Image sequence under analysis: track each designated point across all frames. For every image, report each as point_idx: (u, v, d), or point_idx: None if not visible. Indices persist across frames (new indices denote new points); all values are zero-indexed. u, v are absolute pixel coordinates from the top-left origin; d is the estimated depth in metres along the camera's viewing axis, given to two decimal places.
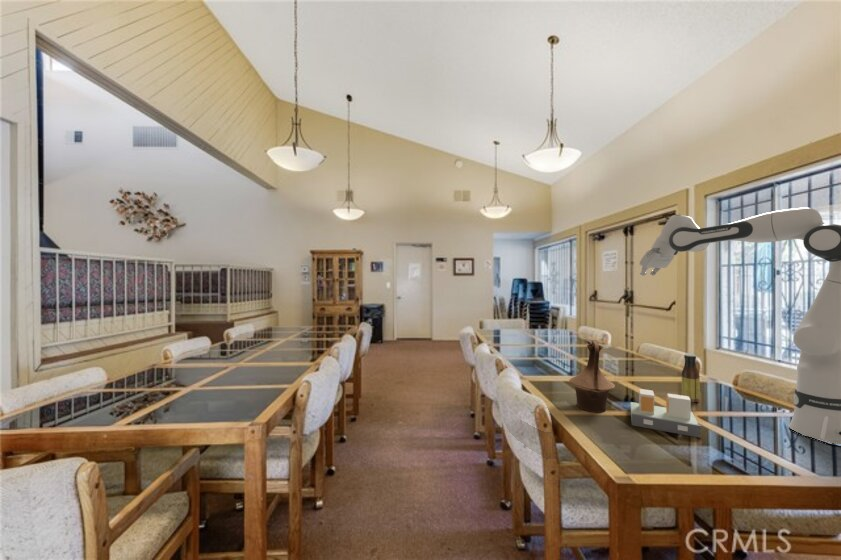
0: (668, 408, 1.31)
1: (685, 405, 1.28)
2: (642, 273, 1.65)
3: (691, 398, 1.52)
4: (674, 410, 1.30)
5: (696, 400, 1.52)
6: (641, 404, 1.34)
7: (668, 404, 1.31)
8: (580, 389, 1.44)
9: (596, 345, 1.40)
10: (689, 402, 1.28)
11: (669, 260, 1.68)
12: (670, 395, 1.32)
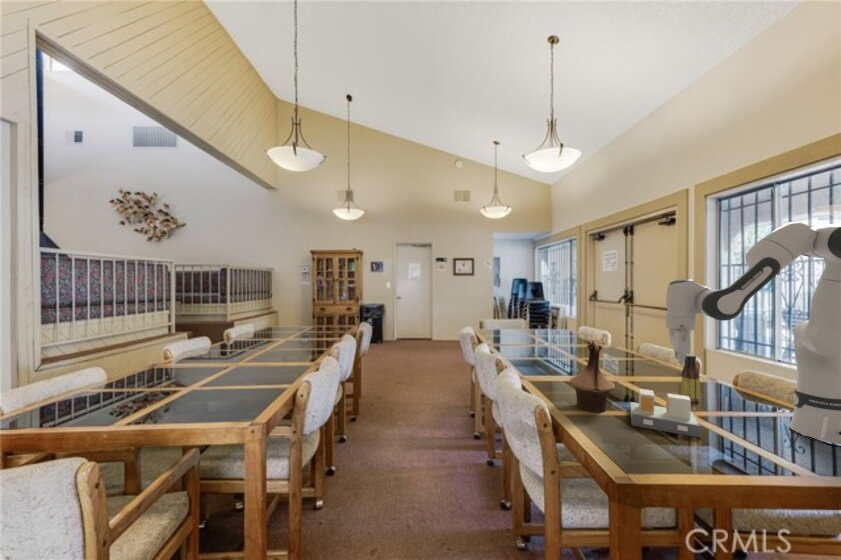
0: (668, 408, 1.31)
1: (685, 405, 1.28)
2: (681, 362, 1.26)
3: (691, 398, 1.52)
4: (674, 410, 1.30)
5: (696, 400, 1.52)
6: (641, 404, 1.34)
7: (668, 404, 1.31)
8: (580, 389, 1.44)
9: (596, 345, 1.40)
10: (689, 402, 1.28)
11: None
12: (670, 395, 1.32)
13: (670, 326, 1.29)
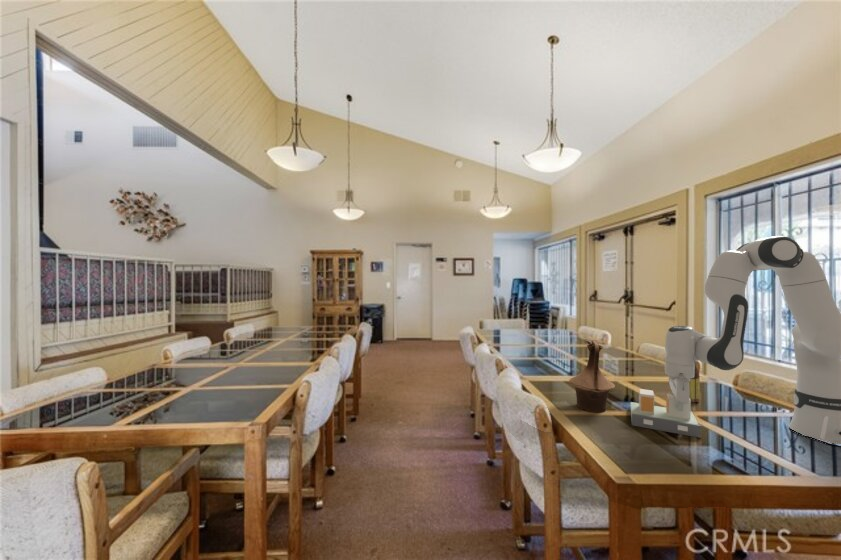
0: (668, 408, 1.31)
1: (685, 405, 1.28)
2: (680, 408, 1.28)
3: (691, 398, 1.52)
4: (674, 410, 1.30)
5: (696, 400, 1.52)
6: (641, 404, 1.34)
7: (668, 404, 1.31)
8: (580, 389, 1.44)
9: (596, 345, 1.40)
10: (689, 402, 1.28)
11: None
12: (670, 395, 1.32)
13: (669, 373, 1.30)
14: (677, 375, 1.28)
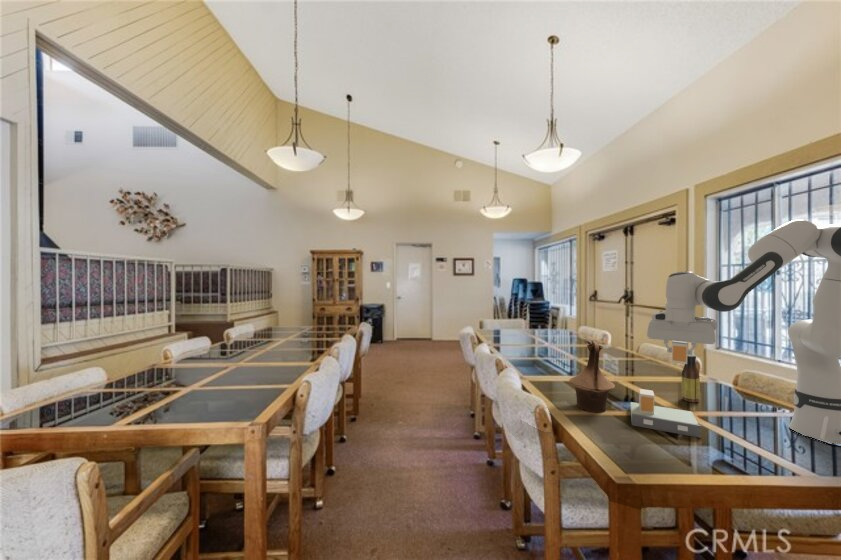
0: (686, 356, 1.27)
1: None
2: None
3: (691, 398, 1.52)
4: None
5: (696, 400, 1.52)
6: (641, 404, 1.34)
7: (686, 352, 1.27)
8: (580, 389, 1.44)
9: (596, 345, 1.40)
10: None
11: None
12: (679, 343, 1.29)
13: (690, 319, 1.26)
14: (694, 319, 1.27)
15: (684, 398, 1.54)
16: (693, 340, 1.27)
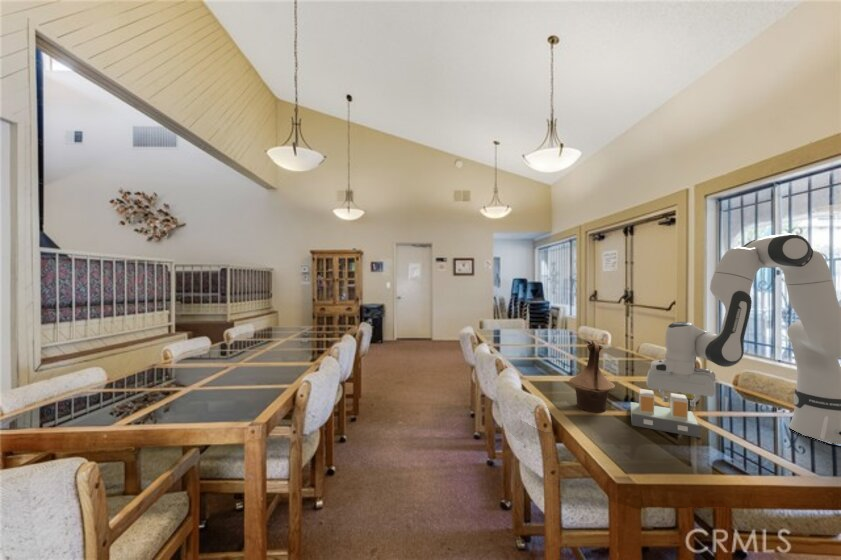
0: (687, 412, 1.27)
1: None
2: None
3: (691, 398, 1.52)
4: None
5: None
6: (641, 404, 1.34)
7: (686, 408, 1.27)
8: (580, 389, 1.44)
9: (596, 345, 1.40)
10: None
11: None
12: (680, 398, 1.29)
13: (691, 372, 1.27)
14: None
15: None
16: (693, 392, 1.27)
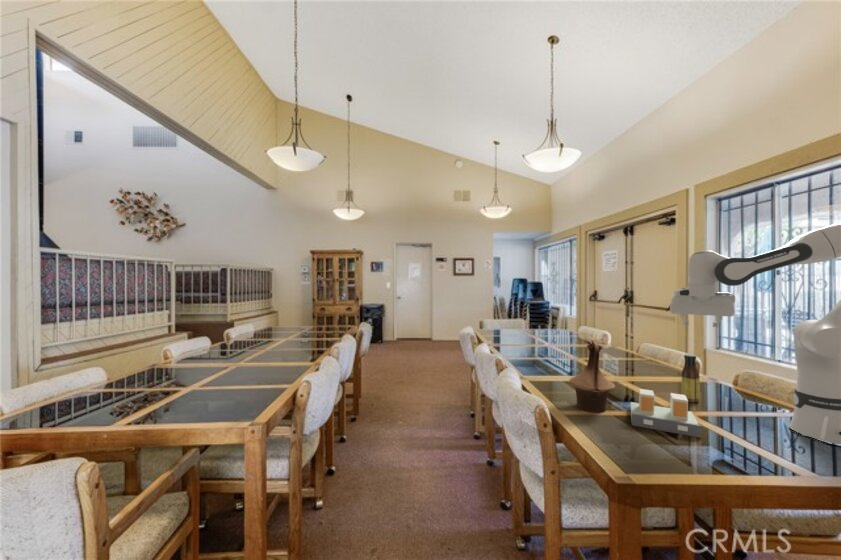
0: (687, 412, 1.27)
1: None
2: None
3: (691, 398, 1.52)
4: None
5: (696, 400, 1.52)
6: (641, 404, 1.34)
7: (686, 408, 1.27)
8: (580, 389, 1.44)
9: (596, 345, 1.40)
10: None
11: None
12: (680, 398, 1.29)
13: (712, 294, 1.38)
14: (715, 294, 1.39)
15: None
16: (714, 313, 1.39)
